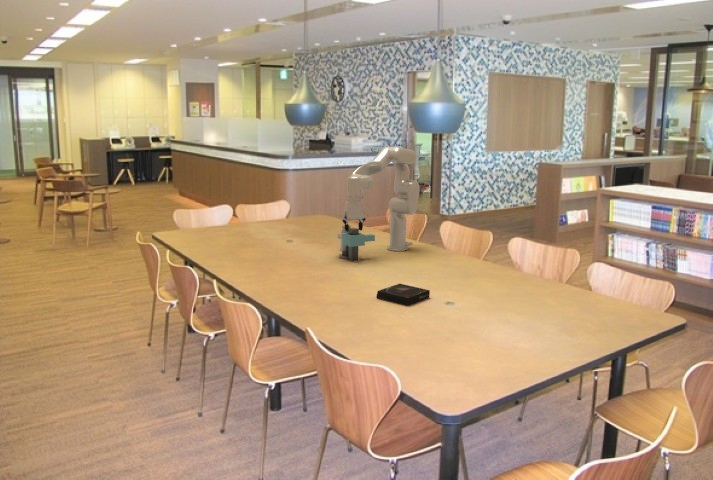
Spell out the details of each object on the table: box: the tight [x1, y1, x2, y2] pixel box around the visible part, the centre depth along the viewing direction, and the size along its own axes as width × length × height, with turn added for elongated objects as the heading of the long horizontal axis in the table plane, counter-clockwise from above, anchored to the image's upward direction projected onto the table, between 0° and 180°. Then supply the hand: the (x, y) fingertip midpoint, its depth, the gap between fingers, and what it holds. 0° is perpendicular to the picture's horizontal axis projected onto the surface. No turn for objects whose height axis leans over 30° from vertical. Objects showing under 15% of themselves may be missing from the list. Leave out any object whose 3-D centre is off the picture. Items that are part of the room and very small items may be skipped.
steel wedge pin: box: [348, 227, 360, 262], centre depth 345 cm, size 4×4×18 cm
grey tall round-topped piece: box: [337, 224, 352, 260], centre depth 352 cm, size 10×10×18 cm
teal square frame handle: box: [342, 232, 376, 247], centre depth 346 cm, size 17×9×6 cm, turn 118°
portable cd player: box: [376, 283, 431, 307], centre depth 276 cm, size 16×17×4 cm
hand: (353, 230), depth 343 cm, fingers open, 7 cm apart
